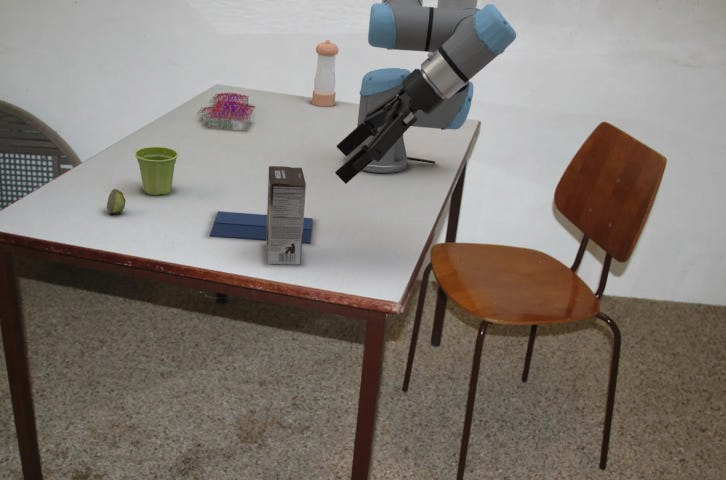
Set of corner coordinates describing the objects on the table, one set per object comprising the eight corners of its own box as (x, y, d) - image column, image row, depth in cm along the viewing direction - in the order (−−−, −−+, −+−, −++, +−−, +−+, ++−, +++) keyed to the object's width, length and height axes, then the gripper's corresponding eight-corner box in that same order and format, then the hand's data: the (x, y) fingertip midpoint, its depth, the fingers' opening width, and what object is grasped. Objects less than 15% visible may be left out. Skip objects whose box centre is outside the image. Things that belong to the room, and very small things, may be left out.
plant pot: (186, 187, 181) (185, 150, 176) (166, 201, 173) (165, 162, 168) (149, 180, 183) (148, 144, 179) (128, 194, 175) (126, 155, 171)
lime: (116, 218, 163) (115, 195, 161) (99, 212, 165) (97, 189, 163) (131, 212, 166) (130, 189, 164) (114, 206, 168) (113, 184, 166)
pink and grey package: (213, 100, 247) (213, 83, 244) (261, 105, 246) (262, 88, 243) (191, 127, 221) (190, 109, 218) (244, 132, 220) (245, 113, 217)
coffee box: (265, 244, 156) (268, 165, 148) (297, 244, 157) (302, 166, 149) (267, 264, 149) (270, 182, 141) (301, 265, 149) (306, 183, 141)
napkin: (312, 220, 168) (312, 218, 168) (310, 243, 158) (310, 241, 158) (218, 213, 169) (218, 211, 168) (209, 236, 158) (209, 233, 158)
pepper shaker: (310, 105, 249) (314, 41, 240) (313, 99, 256) (317, 37, 246) (333, 107, 249) (338, 43, 239) (336, 101, 255) (341, 39, 245)
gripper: (413, 50, 146) (328, 127, 154) (423, 87, 125) (324, 175, 133) (439, 80, 148) (354, 154, 157) (453, 121, 127) (355, 205, 136)
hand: (340, 164), depth 145 cm, fingers open, 13 cm apart
